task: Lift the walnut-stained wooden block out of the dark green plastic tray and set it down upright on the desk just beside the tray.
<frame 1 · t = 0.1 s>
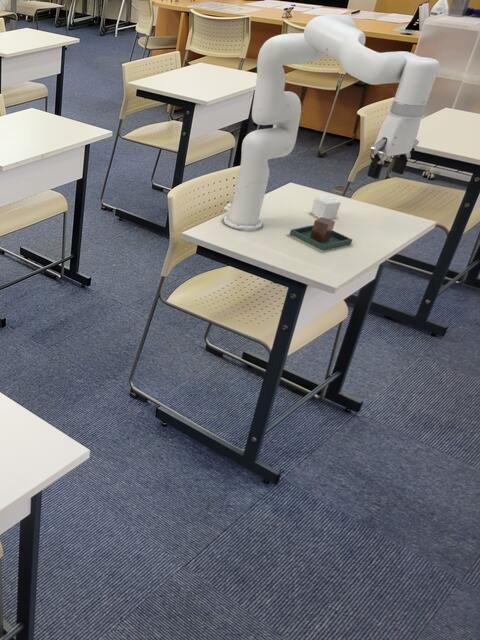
hand: (384, 175, 188), 31 cm above the table, tool pointing down, fingers open, 9 cm apart
block: (319, 239, 227), point 1 cm above the table, touching tray
tray: (319, 240, 228), on the table
white cube: (322, 216, 246), on the table
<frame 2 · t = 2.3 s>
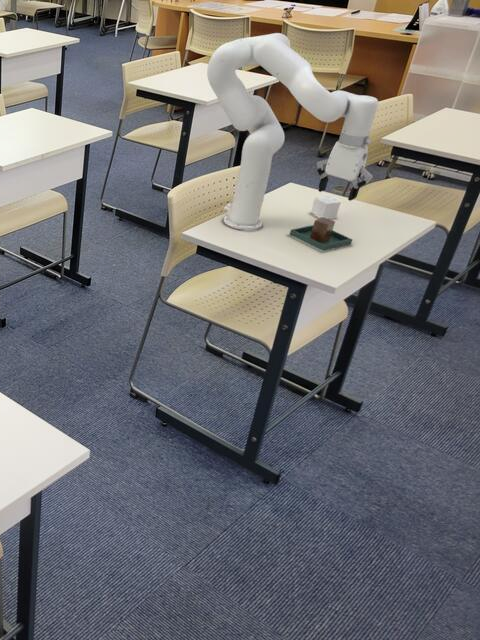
hand: (336, 195, 217), 16 cm above the table, tool pointing down, fingers open, 9 cm apart
nothing on the table moved.
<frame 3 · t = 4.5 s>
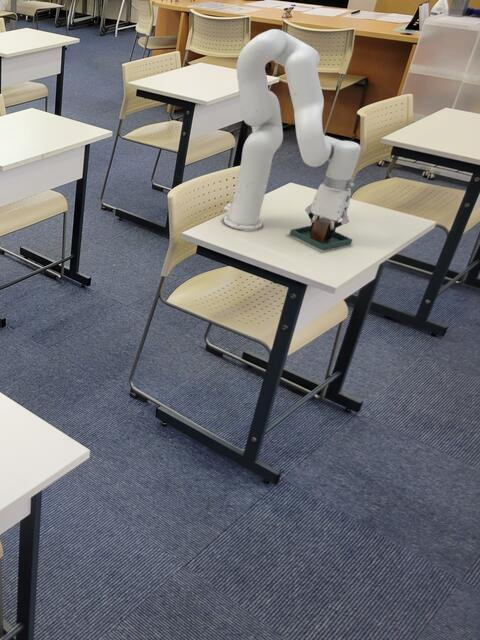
hand: (320, 236, 227), 2 cm above the table, tool pointing down, fingers closed on block, 4 cm apart
block: (319, 239, 227), point 1 cm above the table, touching gripper, tray
everything else where it was.
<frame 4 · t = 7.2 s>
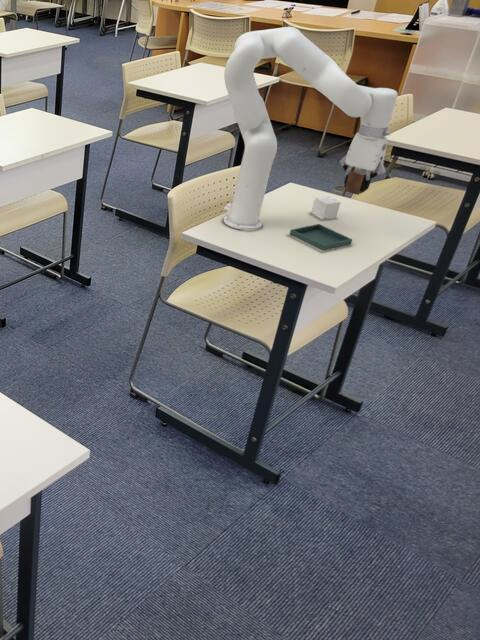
hand: (355, 188, 224), 16 cm above the table, tool pointing down, fingers closed on block, 4 cm apart
block: (354, 191, 224), point 15 cm above the table, touching gripper
everything else where it was.
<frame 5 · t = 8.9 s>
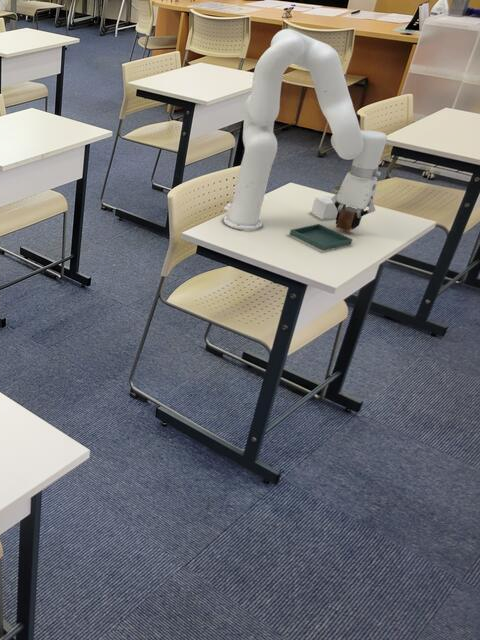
hand: (346, 224, 232), 3 cm above the table, tool pointing down, fingers closed on block, 4 cm apart
block: (345, 227, 232), point 2 cm above the table, touching gripper
everything else where it was.
when the fingers open (1 cm above the table, at t = 9.9 s): block stays where it is, on the table.
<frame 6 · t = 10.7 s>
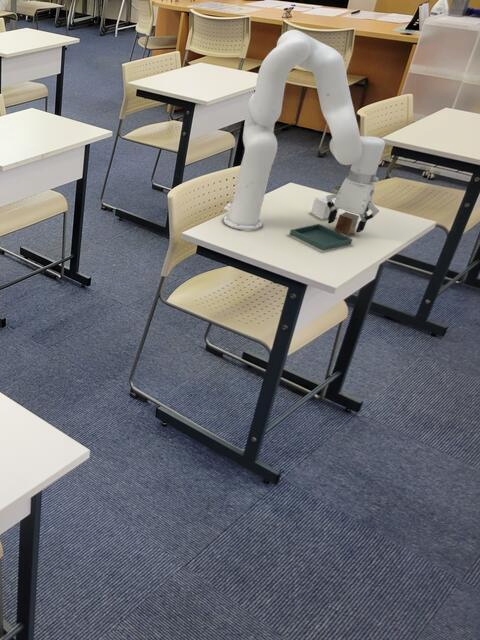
hand: (344, 226, 232), 2 cm above the table, tool pointing down, fingers open, 9 cm apart
block: (343, 233, 234), on the table
everything else where it was.
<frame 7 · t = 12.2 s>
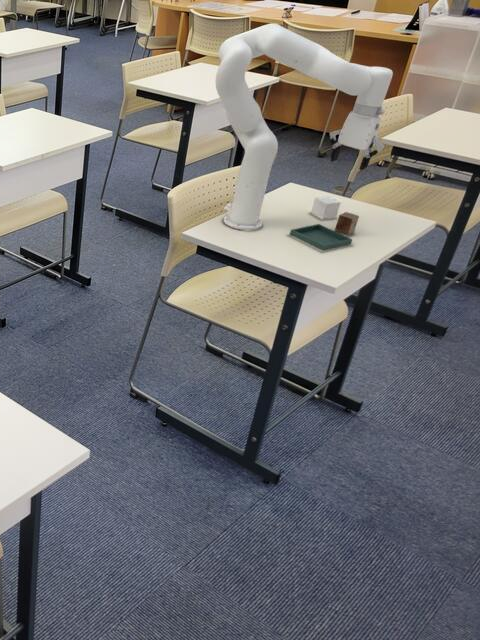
hand: (347, 164, 224), 22 cm above the table, tool pointing down, fingers open, 9 cm apart
nothing on the table moved.
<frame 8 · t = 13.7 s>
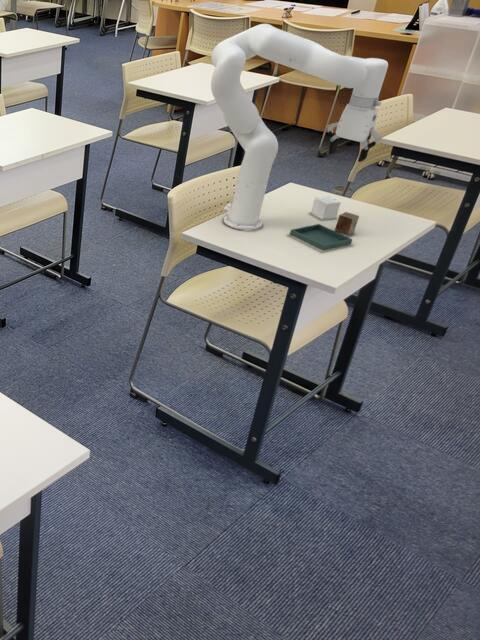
hand: (346, 157, 224), 24 cm above the table, tool pointing down, fingers open, 9 cm apart
nothing on the table moved.
at the end: block inside the target area (0.1 cm from its centre), on the table; block tilted 0°; block touching table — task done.
